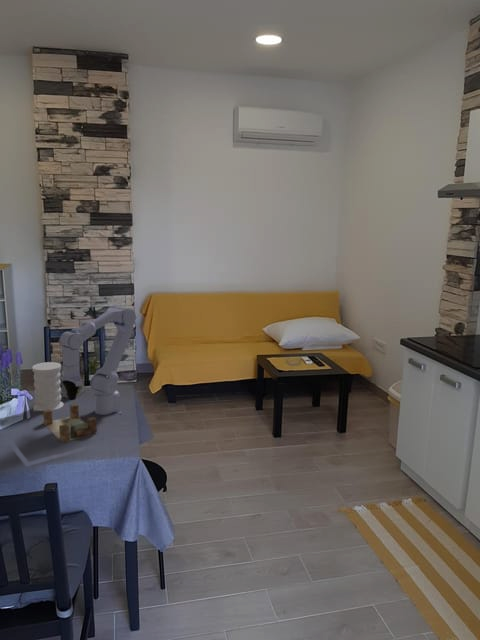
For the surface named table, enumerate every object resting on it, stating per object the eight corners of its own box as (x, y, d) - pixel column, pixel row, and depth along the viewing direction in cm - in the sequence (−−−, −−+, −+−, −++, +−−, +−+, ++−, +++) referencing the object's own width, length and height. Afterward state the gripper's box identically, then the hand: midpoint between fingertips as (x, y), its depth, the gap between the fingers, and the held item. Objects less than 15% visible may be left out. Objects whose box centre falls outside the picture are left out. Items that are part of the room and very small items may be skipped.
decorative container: (35, 404, 206) (32, 362, 203) (64, 402, 209) (62, 361, 206) (31, 414, 195) (29, 371, 192) (62, 412, 198) (61, 369, 195)
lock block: (80, 429, 181) (79, 419, 180) (84, 433, 178) (83, 422, 177) (69, 432, 178) (68, 421, 178) (73, 436, 175) (72, 425, 175)
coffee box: (71, 390, 223) (69, 356, 220) (84, 391, 223) (83, 357, 219) (61, 397, 215) (59, 361, 211) (75, 398, 214) (74, 362, 210)
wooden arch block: (77, 437, 174) (76, 423, 173) (74, 434, 176) (74, 421, 175) (96, 432, 178) (96, 418, 177) (94, 429, 180) (93, 416, 179)
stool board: (76, 418, 194) (76, 403, 192) (98, 436, 179) (97, 420, 177) (42, 425, 186) (42, 410, 184) (62, 445, 170) (61, 428, 169)
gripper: (53, 361, 185) (54, 395, 187) (67, 370, 174) (68, 407, 177) (72, 358, 189) (72, 392, 192) (87, 367, 178) (87, 403, 181)
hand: (72, 399), depth 185 cm, fingers closed
